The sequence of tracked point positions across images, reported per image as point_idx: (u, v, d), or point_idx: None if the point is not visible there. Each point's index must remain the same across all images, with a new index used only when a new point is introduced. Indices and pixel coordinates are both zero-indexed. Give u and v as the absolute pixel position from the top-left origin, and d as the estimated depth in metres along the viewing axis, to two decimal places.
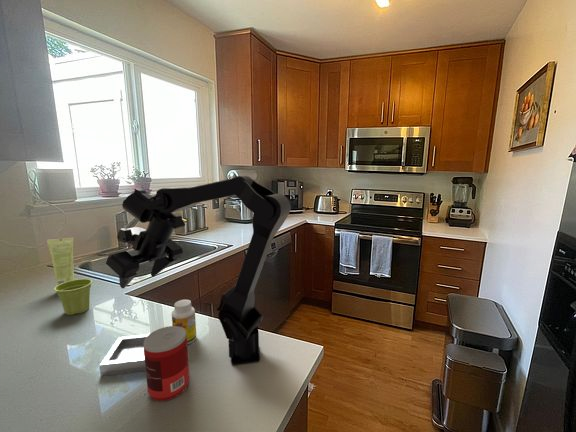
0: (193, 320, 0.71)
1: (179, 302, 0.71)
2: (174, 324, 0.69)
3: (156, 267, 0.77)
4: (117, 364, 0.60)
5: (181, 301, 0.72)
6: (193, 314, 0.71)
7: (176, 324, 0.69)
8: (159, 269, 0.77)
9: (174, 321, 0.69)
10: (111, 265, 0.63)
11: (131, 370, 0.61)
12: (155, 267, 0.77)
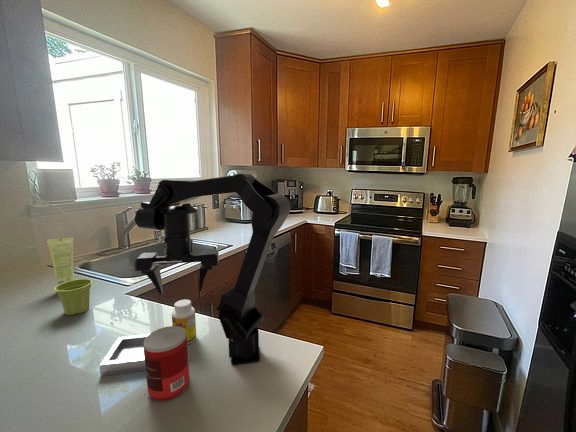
0: (193, 320, 0.71)
1: (179, 302, 0.71)
2: (174, 324, 0.69)
3: None
4: (117, 364, 0.60)
5: (181, 301, 0.72)
6: (193, 314, 0.71)
7: (176, 324, 0.69)
8: (199, 280, 0.70)
9: (174, 321, 0.69)
10: None
11: (131, 370, 0.61)
12: None
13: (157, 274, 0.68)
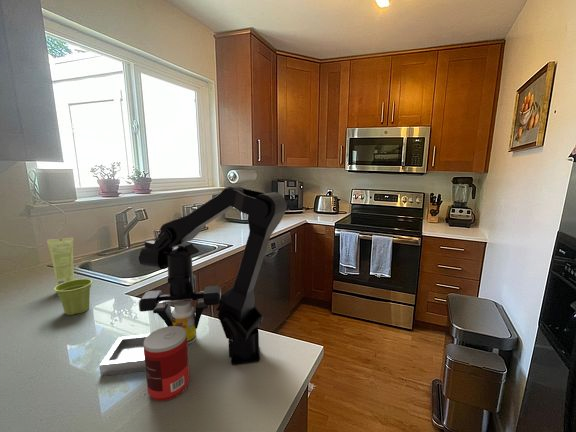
0: (193, 320, 0.71)
1: (179, 302, 0.71)
2: (174, 324, 0.69)
3: None
4: (117, 364, 0.60)
5: (181, 301, 0.72)
6: (193, 314, 0.71)
7: (176, 324, 0.69)
8: (195, 318, 0.71)
9: (174, 321, 0.69)
10: None
11: (131, 370, 0.61)
12: None
13: (168, 312, 0.70)
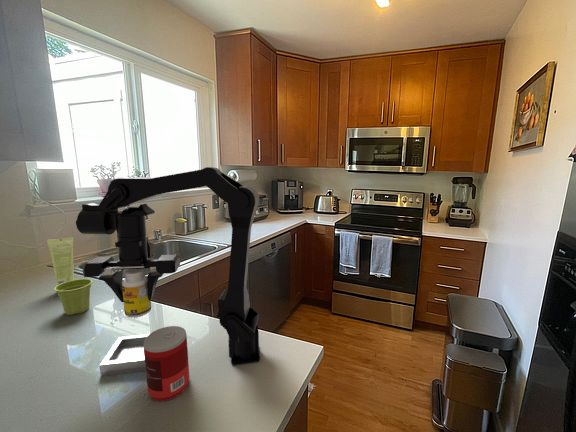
0: (146, 290, 0.64)
1: (131, 270, 0.64)
2: (124, 293, 0.62)
3: None
4: (117, 364, 0.60)
5: (134, 269, 0.65)
6: (146, 284, 0.64)
7: (126, 293, 0.62)
8: None
9: (123, 290, 0.62)
10: None
11: (131, 370, 0.61)
12: None
13: (118, 280, 0.63)
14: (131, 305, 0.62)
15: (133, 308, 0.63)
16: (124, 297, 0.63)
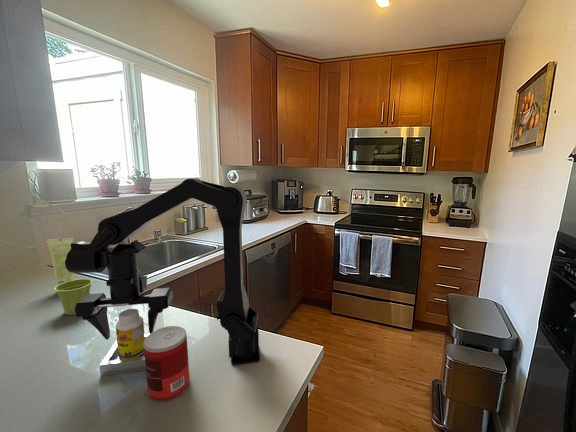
0: (140, 332, 0.64)
1: (125, 312, 0.64)
2: (118, 336, 0.62)
3: None
4: (117, 364, 0.60)
5: (128, 310, 0.65)
6: (140, 325, 0.64)
7: (120, 336, 0.62)
8: None
9: (117, 333, 0.62)
10: None
11: (131, 370, 0.61)
12: None
13: (102, 318, 0.62)
14: (125, 348, 0.62)
15: (128, 351, 0.63)
16: (118, 340, 0.62)
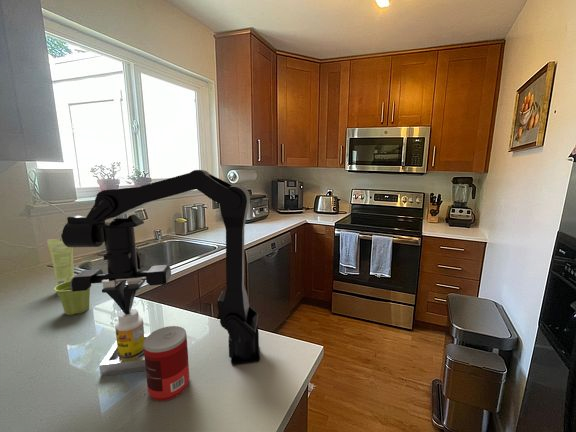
0: (140, 332, 0.64)
1: None
2: (117, 337, 0.62)
3: None
4: (117, 364, 0.60)
5: None
6: (140, 326, 0.64)
7: (119, 337, 0.62)
8: None
9: (117, 334, 0.62)
10: None
11: (131, 370, 0.61)
12: None
13: (121, 292, 0.62)
14: (125, 348, 0.62)
15: (128, 351, 0.62)
16: (118, 340, 0.62)
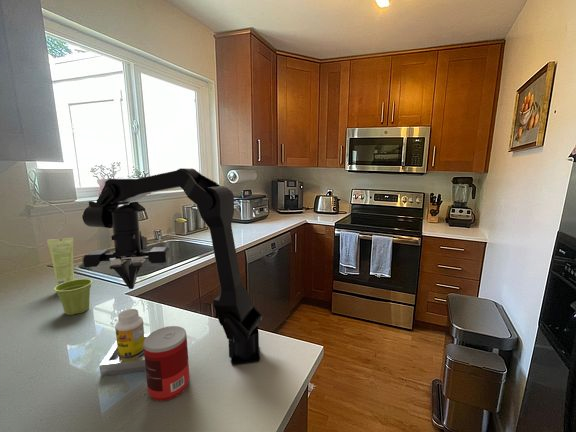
0: (140, 332, 0.64)
1: (124, 312, 0.64)
2: (117, 337, 0.62)
3: None
4: (117, 364, 0.60)
5: (127, 311, 0.65)
6: (140, 326, 0.64)
7: (119, 337, 0.62)
8: None
9: (117, 334, 0.62)
10: None
11: (131, 370, 0.61)
12: None
13: (126, 269, 0.71)
14: (125, 348, 0.62)
15: (128, 351, 0.62)
16: (118, 340, 0.62)
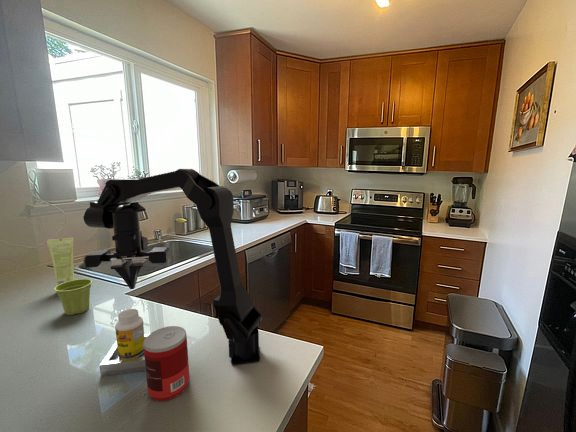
0: (140, 332, 0.64)
1: (124, 312, 0.64)
2: (117, 337, 0.62)
3: None
4: (117, 364, 0.60)
5: (127, 311, 0.65)
6: (140, 326, 0.64)
7: (119, 337, 0.62)
8: None
9: (117, 334, 0.62)
10: None
11: (131, 370, 0.61)
12: None
13: (127, 270, 0.71)
14: (125, 348, 0.62)
15: (128, 351, 0.62)
16: (118, 340, 0.62)
